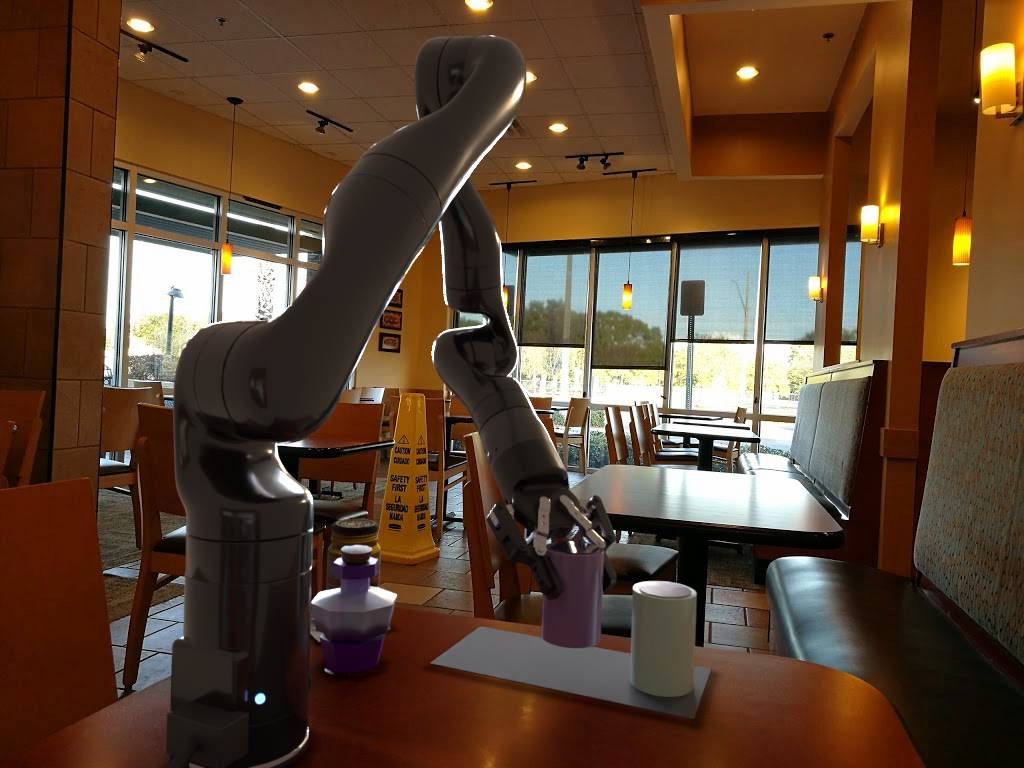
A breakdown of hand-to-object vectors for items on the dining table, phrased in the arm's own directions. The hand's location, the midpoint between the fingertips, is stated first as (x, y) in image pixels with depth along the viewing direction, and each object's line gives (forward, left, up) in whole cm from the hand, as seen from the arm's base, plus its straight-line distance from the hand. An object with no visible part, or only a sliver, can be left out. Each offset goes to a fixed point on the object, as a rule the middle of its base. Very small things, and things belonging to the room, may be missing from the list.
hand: (583, 591), depth 72 cm
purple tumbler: (+1, +1, -5) cm, 5 cm away
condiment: (+1, +29, -9) cm, 30 cm away
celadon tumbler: (+1, -8, -8) cm, 11 cm away
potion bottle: (-8, +21, -9) cm, 24 cm away
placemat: (+1, +1, -9) cm, 9 cm away
